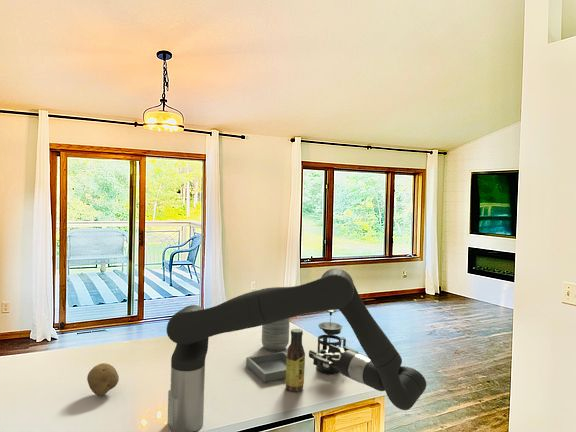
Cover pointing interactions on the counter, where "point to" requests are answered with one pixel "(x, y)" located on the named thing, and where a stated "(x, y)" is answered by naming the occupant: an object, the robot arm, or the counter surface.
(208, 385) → the counter surface
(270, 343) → the vase
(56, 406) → the counter surface
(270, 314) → the robot arm
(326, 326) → the french press
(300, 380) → the sauce bottle
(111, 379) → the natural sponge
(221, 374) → the counter surface
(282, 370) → the tray
